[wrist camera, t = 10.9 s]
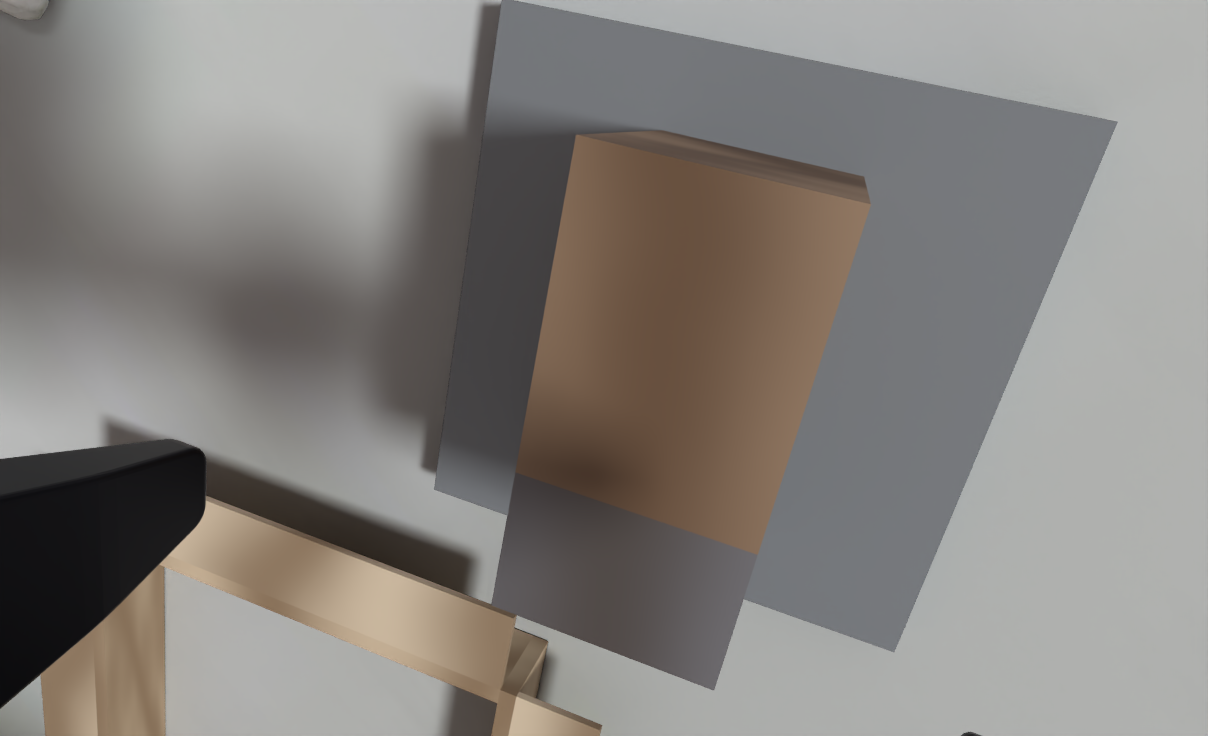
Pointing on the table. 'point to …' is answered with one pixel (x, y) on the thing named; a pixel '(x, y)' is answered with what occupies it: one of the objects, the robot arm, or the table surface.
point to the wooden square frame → (317, 599)
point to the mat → (867, 306)
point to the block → (670, 388)
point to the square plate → (24, 8)
